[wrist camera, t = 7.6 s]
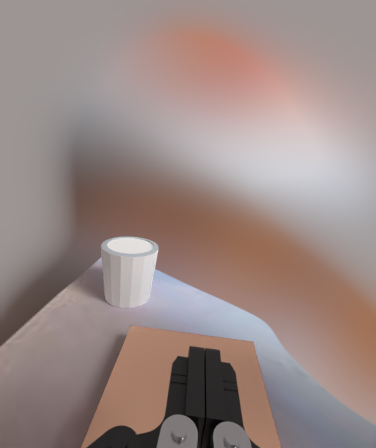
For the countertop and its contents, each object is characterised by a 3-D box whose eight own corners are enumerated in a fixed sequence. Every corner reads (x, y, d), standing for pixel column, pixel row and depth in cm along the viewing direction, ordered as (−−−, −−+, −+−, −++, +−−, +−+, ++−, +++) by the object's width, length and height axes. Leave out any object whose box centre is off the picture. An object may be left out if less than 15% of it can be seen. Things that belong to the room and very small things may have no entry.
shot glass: (149, 281, 38) (153, 235, 37) (158, 309, 32) (164, 255, 30) (99, 283, 36) (101, 235, 34) (98, 313, 30) (100, 256, 28)
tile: (308, 551, 12) (252, 341, 26) (54, 513, 13) (130, 325, 26) (297, 580, 13) (248, 360, 26) (54, 543, 13) (129, 344, 27)
